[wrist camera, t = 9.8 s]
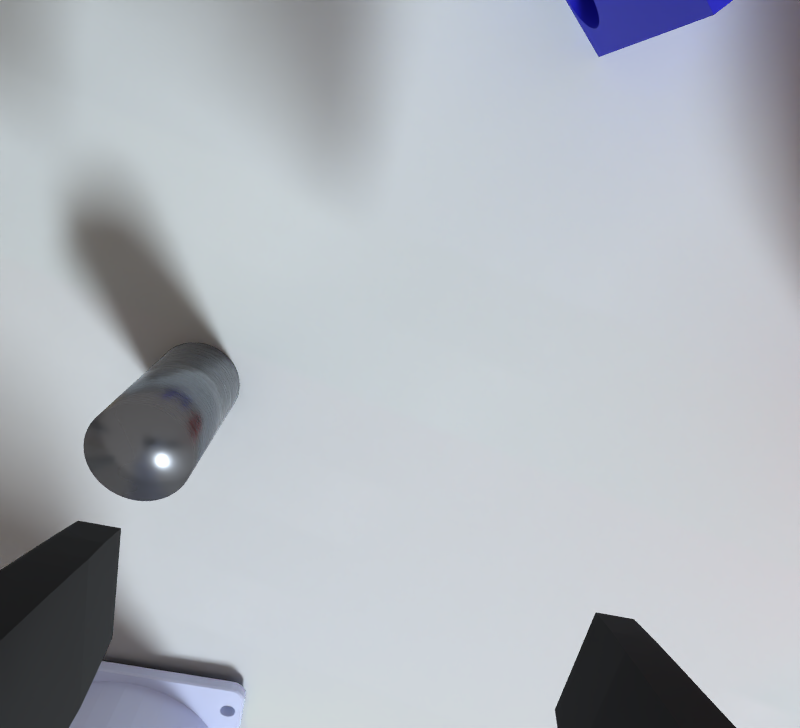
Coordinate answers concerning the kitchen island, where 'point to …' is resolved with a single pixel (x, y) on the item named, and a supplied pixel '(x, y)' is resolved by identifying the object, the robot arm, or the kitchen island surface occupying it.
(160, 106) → the kitchen island surface
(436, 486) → the kitchen island surface
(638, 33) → the cable clip
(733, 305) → the kitchen island surface
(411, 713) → the kitchen island surface
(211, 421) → the short pin
